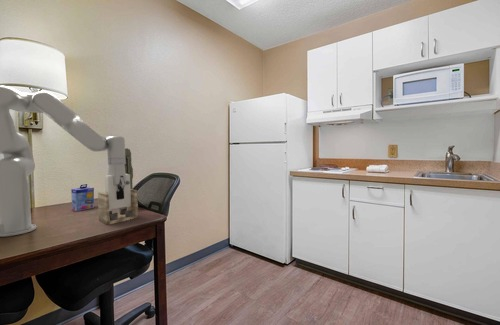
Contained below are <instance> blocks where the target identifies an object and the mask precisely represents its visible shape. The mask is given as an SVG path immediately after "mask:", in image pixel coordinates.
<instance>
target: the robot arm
mask: <svg viewBox="0 0 500 325" xmlns="http://www.w3.org/2000/svg"><path fill="white" fill-rule="evenodd" d="M11 111H15V112H20V113H21V112H24V113H36V114H44V115H45V116H46V117H48V118H49V119H50V120H52V121H53V122H54V123H56V124H57V125H58V126H59V127H61V128H62V129H63V130H64V131H65V132H67V133H68V134H69V135H70V136H71V137H73V138H74V139H75V140H77V141H78V142H79V143H80V144H82V146H84V147H85V148H87V149H88V150H89V151H92V152H96V153H97V152H105V151H107V165H108V168H107V169H108V170H107V172H108V173H107V174H108V175H111V176H113V185H115V186H116V185H117V192H116V194H117V200H119V199H124V187H125V183H126V173H125V165H124V164H126V161H125V149H126V144H125V141H126V140H125V137H123V136H122V135H121V136H119V135H114V136H113V135H111V136H103V135H102V136H101V135H100V134H98V132H96V131H95V130H94V129H93V128H92V127H90V125H88V124H87V123H86V122H84V120H83V119H82V118H81V116H79V114H77V113H76V111H74V110H73V109H71V108H70V107H69V106H68V105H66V104H65V103H64V102H63V101H62V100H61V99H59V97H58V96H56V95H54V94H53V93H52V92H50V91H46V90H40V91H37V92H35V93H31V92H30V93H29V92H23V91H22V92H21V91H19V90H17V89H15V88H13V87H10V86H8V85H7V86H6V85H0V155H3V157H4V158H1V159H0V237H4V238H5V237H13V236H17V235H22V234H26V233H29V232H33V231H34V230H37V225H36V224H33V223H32V211H31V199H30V198H31V195H30V186H29V181H28V177H29V176H30V175H32V174H33V173H34V171H35V169H36V164H35V163H36V162H35V159H34V156H33V152H32V149H31V144H30V143H29V140H28V139H27V137H26V136H24V134H21V133H19V132H17V130H16V127H15V123H14V120H13V117H12V115H11V113H10V112H11ZM120 183H121V185H118V184H120ZM119 186H120V187H119Z"/></svg>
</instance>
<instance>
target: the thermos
mask: <svg viewBox="0 0 500 325" xmlns="http://www.w3.org/2000/svg"><path fill="white" fill-rule="evenodd" d="M125 161H126V164H124V165H125V173H126V174H130V189H133V190H134V188H133V187H134V186H133V178H134V168H133V165H132V151H131V150H130V148H128V147H127V148H125ZM122 208H127V207H122ZM118 209H119V210H120V209H121V208H118Z"/></svg>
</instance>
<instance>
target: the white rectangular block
mask: <svg viewBox="0 0 500 325" xmlns="http://www.w3.org/2000/svg"><path fill="white" fill-rule="evenodd" d="M118 185H121V183H120V184H118ZM104 186H105V187H104V188H105V190H104V191H105V192H104V193H105V194H108V195H109V211H113V210H116V209H119V208H122V207H127V206H131V191H130V174H126V183H125V187H124V199H119V200H117V194H116V192H117V185H116V186H115V185H113V176H111V175H104ZM119 187H120V186H119Z"/></svg>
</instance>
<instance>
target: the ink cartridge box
mask: <svg viewBox="0 0 500 325" xmlns="http://www.w3.org/2000/svg"><path fill="white" fill-rule="evenodd" d="M70 191H71V210H72V211H75V212H80V211H85V210H90V209H94V208H95V188H94V187H91V186H88V184H87V183H84V184H80V186H79V187H76V188H71V189H70Z"/></svg>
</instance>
